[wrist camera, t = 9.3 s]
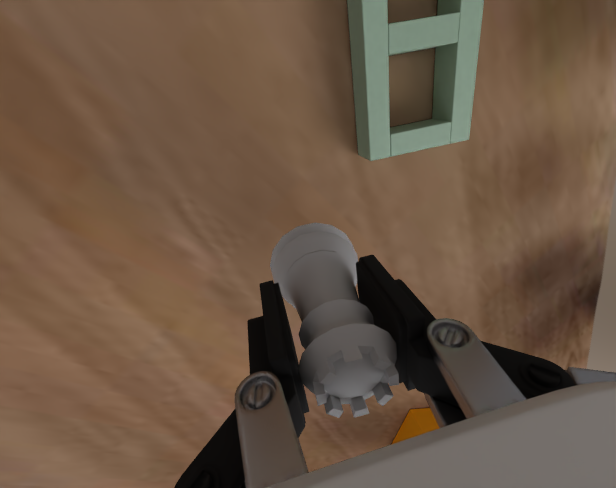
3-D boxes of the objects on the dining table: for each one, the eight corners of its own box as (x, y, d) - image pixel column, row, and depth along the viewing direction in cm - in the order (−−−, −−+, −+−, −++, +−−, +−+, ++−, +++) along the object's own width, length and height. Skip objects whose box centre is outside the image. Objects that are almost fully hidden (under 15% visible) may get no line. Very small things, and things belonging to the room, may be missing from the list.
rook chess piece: (368, 255, 16) (457, 377, 9) (310, 305, 17) (348, 453, 10) (313, 201, 14) (371, 301, 7) (251, 261, 15) (247, 403, 8)
